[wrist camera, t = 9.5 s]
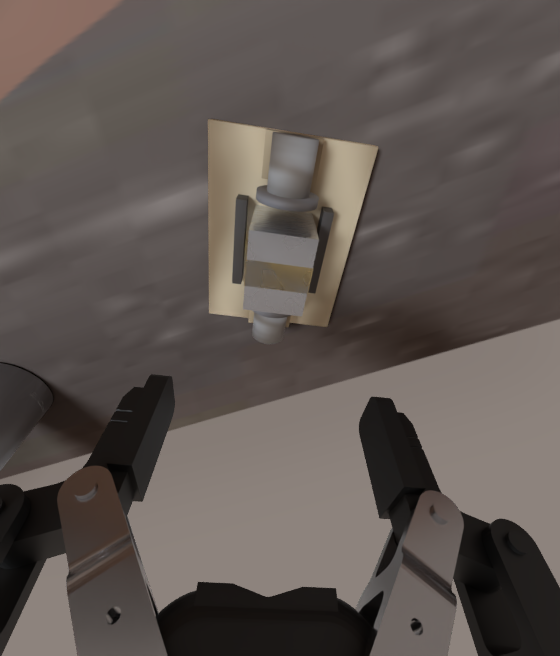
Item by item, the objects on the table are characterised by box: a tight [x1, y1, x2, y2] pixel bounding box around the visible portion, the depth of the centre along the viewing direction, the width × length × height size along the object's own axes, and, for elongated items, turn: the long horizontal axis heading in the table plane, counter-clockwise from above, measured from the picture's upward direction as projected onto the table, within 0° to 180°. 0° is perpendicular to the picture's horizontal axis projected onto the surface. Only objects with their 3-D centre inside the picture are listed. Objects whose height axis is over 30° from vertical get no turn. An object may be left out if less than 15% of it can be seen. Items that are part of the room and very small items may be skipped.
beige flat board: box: [208, 119, 378, 344], centre depth 24 cm, size 12×16×6 cm
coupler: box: [243, 205, 319, 316], centre depth 23 cm, size 6×5×6 cm
